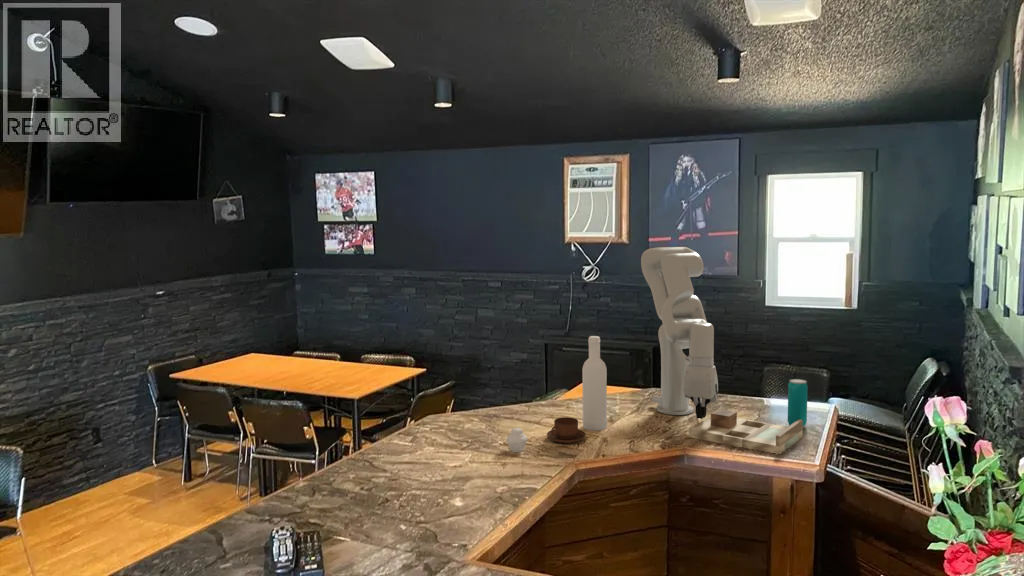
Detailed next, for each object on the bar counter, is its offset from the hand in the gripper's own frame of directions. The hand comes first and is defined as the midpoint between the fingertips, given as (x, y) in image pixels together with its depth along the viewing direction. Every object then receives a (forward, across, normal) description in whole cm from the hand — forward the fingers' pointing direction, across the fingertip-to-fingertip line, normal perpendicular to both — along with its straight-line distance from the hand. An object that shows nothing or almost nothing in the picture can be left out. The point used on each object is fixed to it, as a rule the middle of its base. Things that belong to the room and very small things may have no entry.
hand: (700, 417), depth 231 cm
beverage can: (+4, +24, +21) cm, 32 cm away
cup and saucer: (+4, -29, -34) cm, 45 cm away
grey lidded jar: (+4, -34, -52) cm, 62 cm away
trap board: (+4, +15, 0) cm, 15 cm away
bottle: (+4, -28, -18) cm, 34 cm away
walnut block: (+1, +8, 0) cm, 8 cm away
